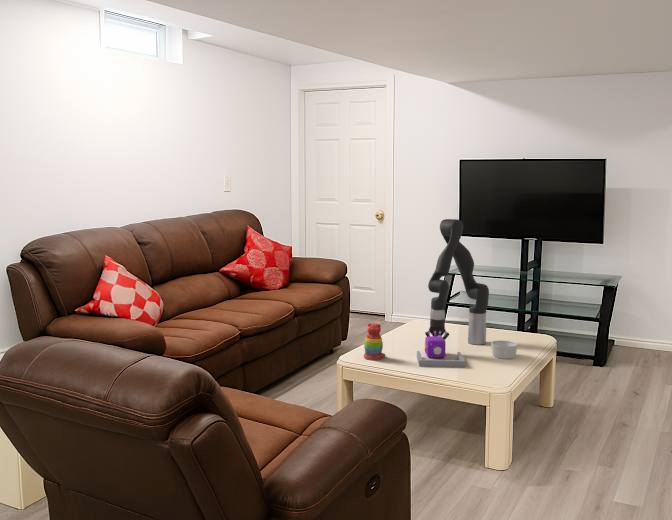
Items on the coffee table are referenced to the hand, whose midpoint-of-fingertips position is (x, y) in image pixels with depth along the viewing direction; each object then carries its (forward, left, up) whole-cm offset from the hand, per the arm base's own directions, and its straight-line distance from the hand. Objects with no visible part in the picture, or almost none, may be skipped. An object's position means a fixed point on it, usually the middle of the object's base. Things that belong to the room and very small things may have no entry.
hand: (436, 350), depth 365 cm
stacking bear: (+33, +12, -2) cm, 35 cm away
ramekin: (-34, +4, -2) cm, 34 cm away
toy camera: (+1, +8, -2) cm, 8 cm away
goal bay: (0, +16, -2) cm, 16 cm away
